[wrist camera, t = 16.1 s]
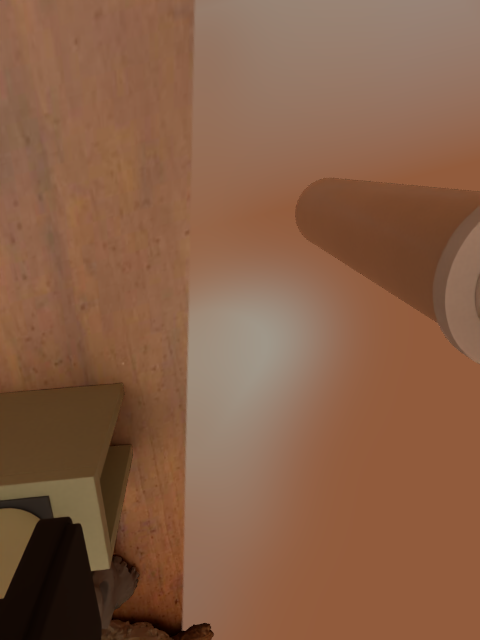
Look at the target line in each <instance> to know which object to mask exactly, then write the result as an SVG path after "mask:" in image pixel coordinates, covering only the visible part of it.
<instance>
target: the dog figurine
mask: <svg viewBox="0 0 480 640" xmlns="http://www.w3.org/2000/svg"><path fill="white" fill-rule="evenodd" d="M210 629H211V626H210V624H207V623H203V624H199V625H193V626H191V627H190V628H189V629H187V630H186V631H180V632H179V633H178V634H177V635H176V636H174V637H173V636H172V637H170V638H169V635H168V634H166V632H164V631H161V630H158V629H157V628H154V626H152V624H150V623H148V622H136V623H135V624H129V621H127V622H123V621H121V620H111V621H110V624H109V626H108V629H102V635H101V640H211V638H212V637H213V635H214V633H213V632H212V631H211V630H210Z"/></svg>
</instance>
